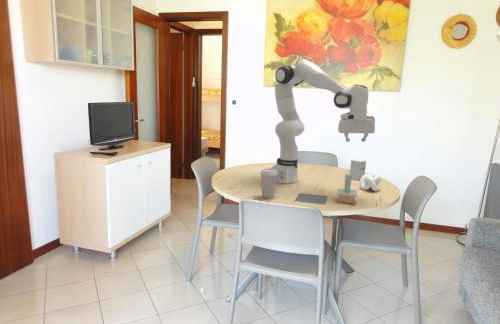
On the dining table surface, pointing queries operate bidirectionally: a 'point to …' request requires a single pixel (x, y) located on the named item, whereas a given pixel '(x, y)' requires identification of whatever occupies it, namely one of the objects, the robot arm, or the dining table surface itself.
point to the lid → (347, 188)
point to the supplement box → (357, 169)
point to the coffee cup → (268, 182)
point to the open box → (346, 199)
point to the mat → (311, 198)
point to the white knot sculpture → (369, 182)
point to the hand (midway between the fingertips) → (355, 141)
